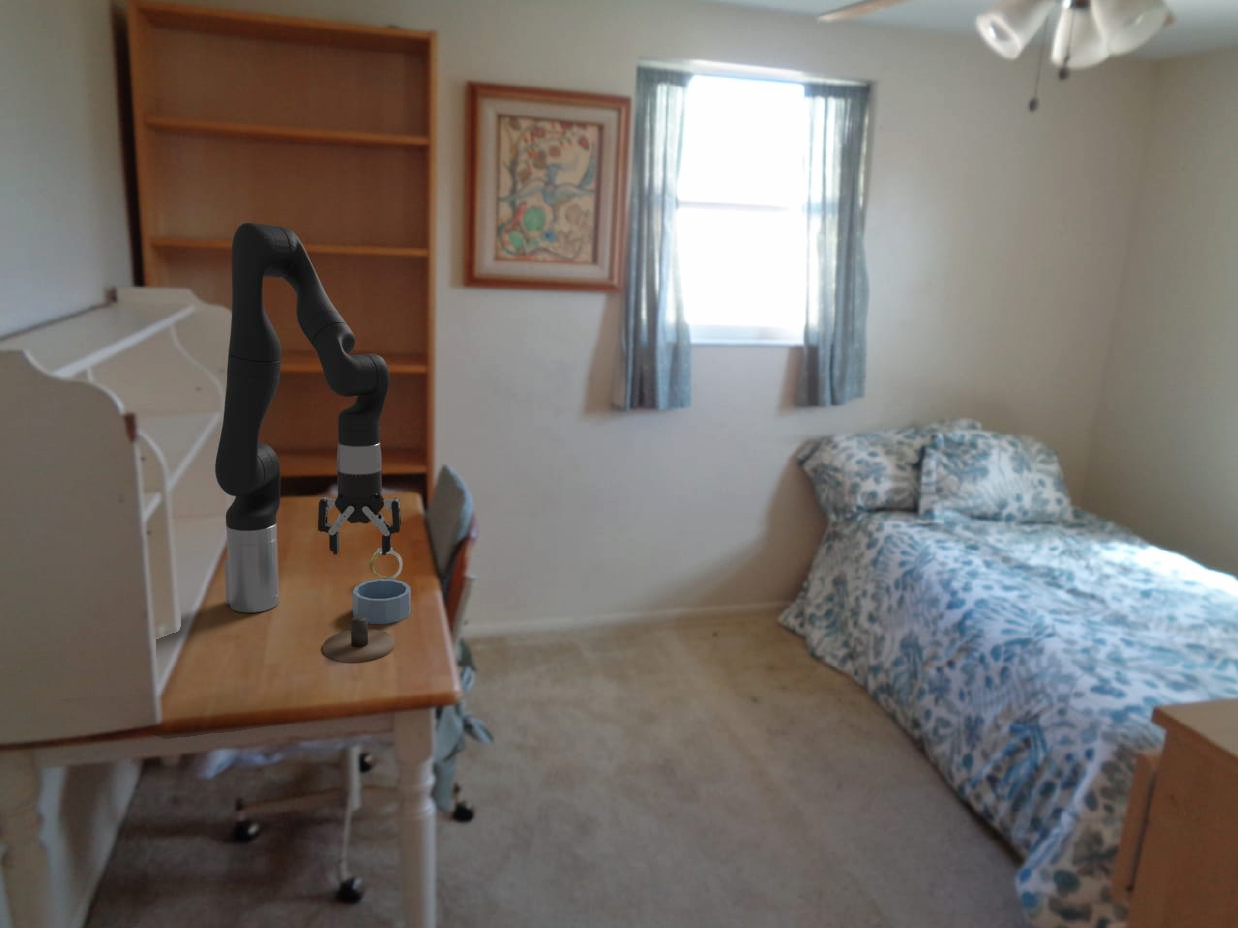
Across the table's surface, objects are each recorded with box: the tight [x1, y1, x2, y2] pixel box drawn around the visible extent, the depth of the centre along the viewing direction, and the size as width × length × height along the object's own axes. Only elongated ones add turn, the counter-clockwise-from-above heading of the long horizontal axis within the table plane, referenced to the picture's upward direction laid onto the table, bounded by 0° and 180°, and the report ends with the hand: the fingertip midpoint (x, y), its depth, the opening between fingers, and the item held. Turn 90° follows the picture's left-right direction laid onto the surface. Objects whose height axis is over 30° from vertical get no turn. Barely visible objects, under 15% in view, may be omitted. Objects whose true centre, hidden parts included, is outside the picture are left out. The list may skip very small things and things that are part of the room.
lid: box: [322, 616, 397, 663], centre depth 160 cm, size 13×13×6 cm
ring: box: [369, 546, 404, 580], centre depth 190 cm, size 7×3×8 cm, turn 98°
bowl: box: [352, 578, 412, 625], centre depth 174 cm, size 11×11×5 cm
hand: (360, 553), depth 156 cm, fingers open, 8 cm apart
